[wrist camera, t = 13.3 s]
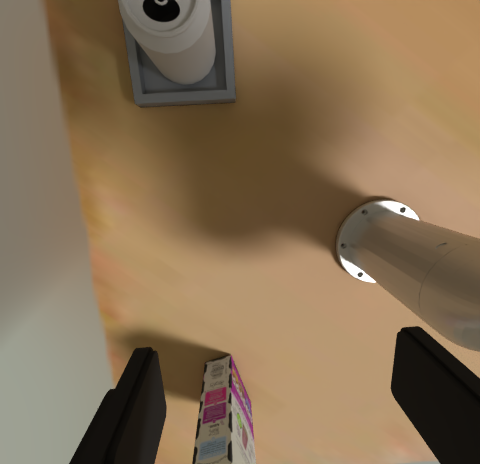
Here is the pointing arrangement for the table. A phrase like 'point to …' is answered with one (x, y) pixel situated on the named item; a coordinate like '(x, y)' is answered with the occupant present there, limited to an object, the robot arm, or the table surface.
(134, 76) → the tray
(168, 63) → the can
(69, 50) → the table surface
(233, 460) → the candy bar box
